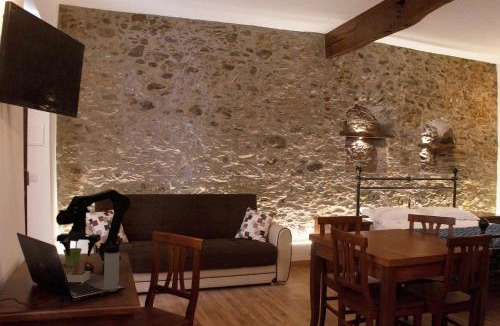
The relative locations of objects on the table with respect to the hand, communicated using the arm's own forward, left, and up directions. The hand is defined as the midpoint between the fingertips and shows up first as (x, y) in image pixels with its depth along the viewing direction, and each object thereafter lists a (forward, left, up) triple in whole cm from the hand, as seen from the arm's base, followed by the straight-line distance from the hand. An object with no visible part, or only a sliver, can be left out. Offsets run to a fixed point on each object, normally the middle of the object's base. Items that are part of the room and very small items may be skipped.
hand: (78, 256), depth 194 cm
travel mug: (-19, +11, -12) cm, 25 cm away
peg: (0, 0, -12) cm, 12 cm away
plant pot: (+15, -30, -12) cm, 36 cm away
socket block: (0, 0, -12) cm, 12 cm away
